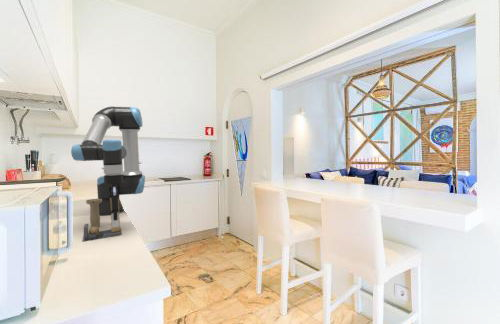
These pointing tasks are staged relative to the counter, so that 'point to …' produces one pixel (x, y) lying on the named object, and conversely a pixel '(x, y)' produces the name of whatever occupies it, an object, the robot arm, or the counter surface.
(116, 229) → the lever
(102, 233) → the slotted metal plate
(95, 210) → the handle
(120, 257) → the counter surface
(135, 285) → the counter surface
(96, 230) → the round brown knob
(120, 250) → the counter surface
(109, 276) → the counter surface
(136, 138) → the robot arm
